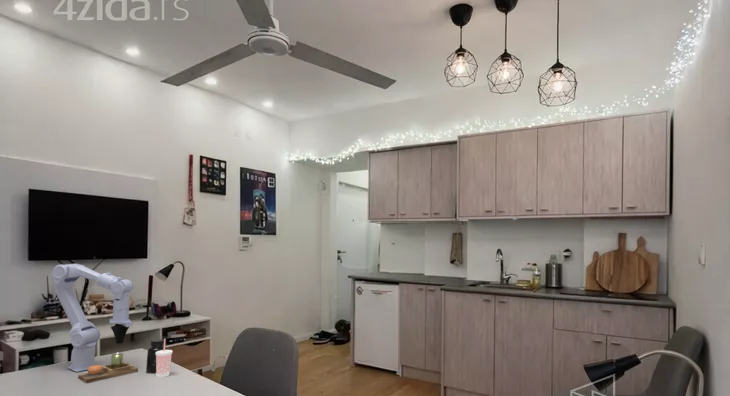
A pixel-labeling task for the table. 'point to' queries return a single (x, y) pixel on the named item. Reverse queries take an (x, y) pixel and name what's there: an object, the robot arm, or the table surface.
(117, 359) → the cell
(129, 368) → the board
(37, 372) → the table surface
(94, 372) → the button
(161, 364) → the beverage cup
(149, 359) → the supplement bottle
